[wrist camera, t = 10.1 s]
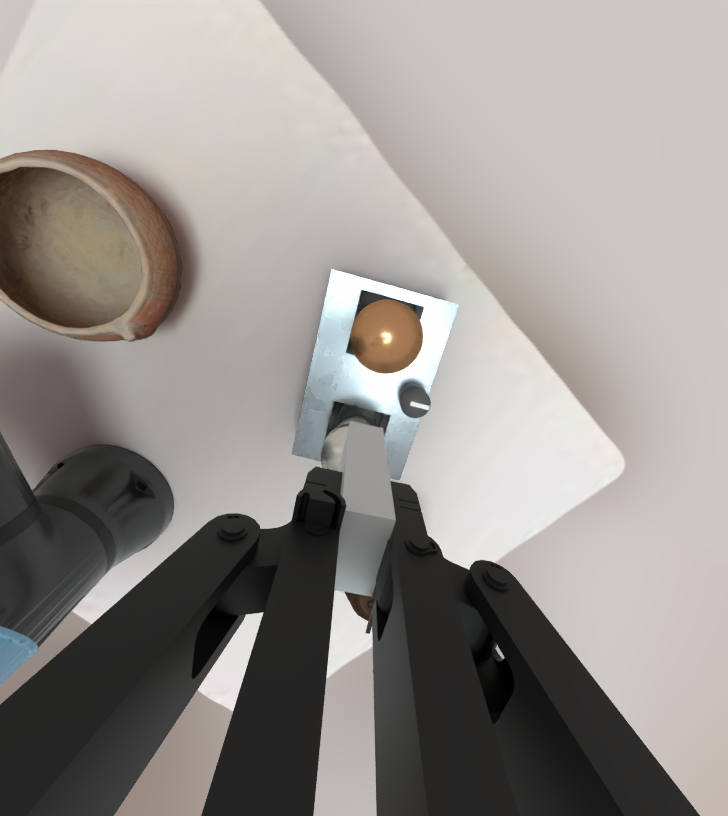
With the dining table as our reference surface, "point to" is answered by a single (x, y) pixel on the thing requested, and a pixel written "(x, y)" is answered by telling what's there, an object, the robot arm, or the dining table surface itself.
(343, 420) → the white light bulb
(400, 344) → the orange light bulb
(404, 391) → the knob
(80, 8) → the dining table surface
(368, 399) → the mount
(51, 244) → the bowl
